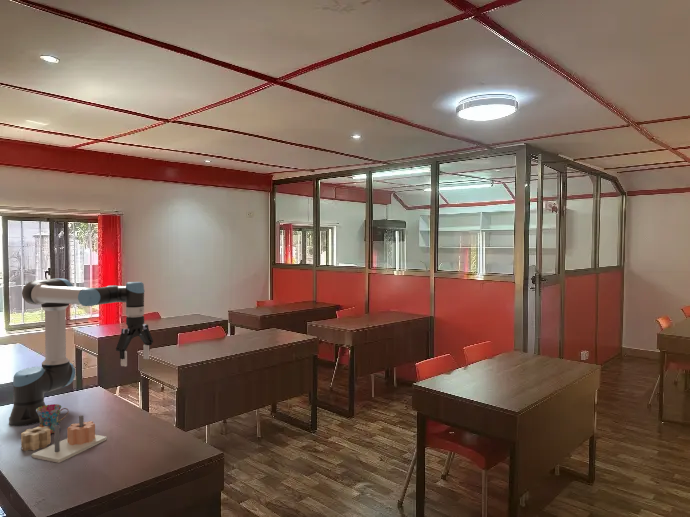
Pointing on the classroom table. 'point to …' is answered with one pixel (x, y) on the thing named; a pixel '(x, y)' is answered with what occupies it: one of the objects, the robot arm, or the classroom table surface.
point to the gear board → (71, 442)
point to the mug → (50, 416)
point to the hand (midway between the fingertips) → (135, 362)
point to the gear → (35, 438)
